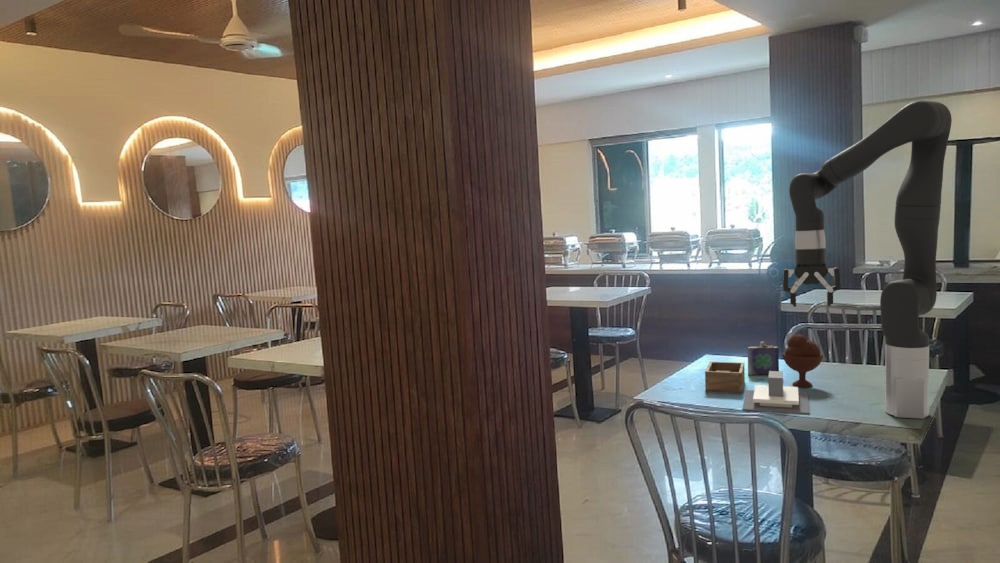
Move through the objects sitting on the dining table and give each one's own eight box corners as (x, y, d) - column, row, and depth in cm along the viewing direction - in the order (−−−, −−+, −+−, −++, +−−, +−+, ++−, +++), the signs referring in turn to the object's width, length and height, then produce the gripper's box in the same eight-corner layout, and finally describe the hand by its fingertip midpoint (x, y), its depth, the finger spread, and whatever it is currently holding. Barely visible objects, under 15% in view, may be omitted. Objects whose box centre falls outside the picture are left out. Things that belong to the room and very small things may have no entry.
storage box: (742, 393, 192) (741, 373, 191) (705, 392, 196) (705, 371, 195) (744, 382, 205) (744, 362, 204) (710, 380, 209) (709, 361, 208)
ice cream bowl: (784, 389, 194) (784, 338, 193) (781, 380, 205) (780, 331, 203) (825, 390, 191) (825, 338, 190) (819, 381, 201) (818, 331, 200)
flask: (748, 375, 213) (747, 342, 212) (747, 373, 216) (746, 340, 215) (779, 376, 211) (779, 342, 210) (778, 374, 213) (777, 340, 212)
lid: (798, 409, 173) (798, 382, 172) (753, 406, 177) (752, 380, 177) (798, 394, 187) (797, 369, 186) (755, 392, 191) (755, 367, 190)
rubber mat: (809, 414, 170) (809, 412, 170) (742, 410, 176) (742, 408, 176) (807, 394, 188) (807, 392, 188) (746, 391, 194) (746, 390, 194)
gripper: (782, 248, 183) (783, 308, 184) (840, 246, 178) (842, 307, 179) (781, 247, 190) (783, 305, 191) (838, 245, 184) (839, 304, 186)
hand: (811, 306), depth 185 cm, fingers open, 8 cm apart
